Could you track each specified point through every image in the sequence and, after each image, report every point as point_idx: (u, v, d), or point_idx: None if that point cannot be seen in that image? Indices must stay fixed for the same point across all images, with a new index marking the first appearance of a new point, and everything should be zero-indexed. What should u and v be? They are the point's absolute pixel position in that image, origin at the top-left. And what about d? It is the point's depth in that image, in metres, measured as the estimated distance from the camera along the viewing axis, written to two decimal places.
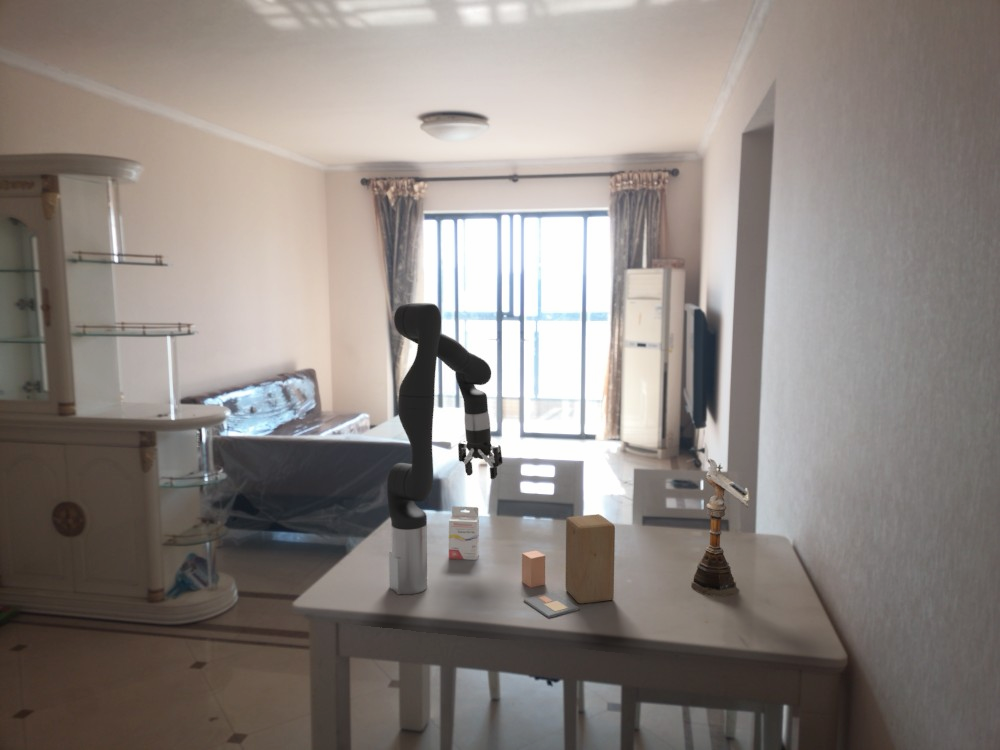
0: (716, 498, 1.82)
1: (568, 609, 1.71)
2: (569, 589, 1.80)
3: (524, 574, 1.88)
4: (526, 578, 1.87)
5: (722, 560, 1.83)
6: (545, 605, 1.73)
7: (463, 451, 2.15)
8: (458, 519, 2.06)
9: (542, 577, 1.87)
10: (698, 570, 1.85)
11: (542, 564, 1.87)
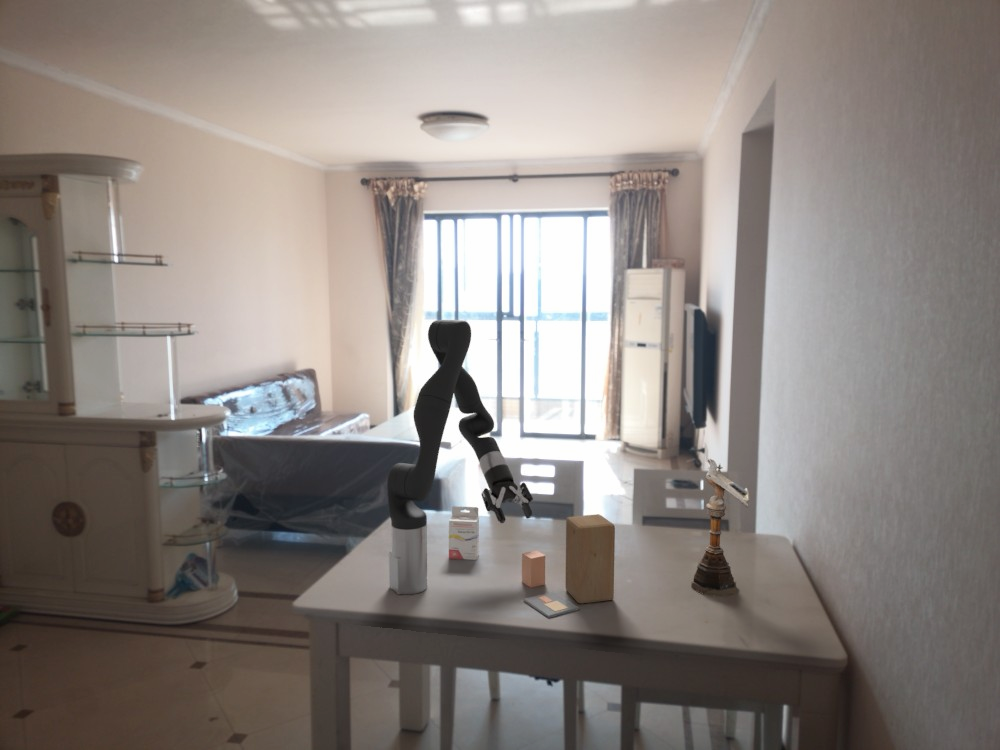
0: (716, 498, 1.82)
1: (568, 609, 1.71)
2: (569, 589, 1.80)
3: (524, 574, 1.88)
4: (526, 578, 1.87)
5: (722, 560, 1.83)
6: (545, 605, 1.73)
7: None
8: (458, 519, 2.06)
9: (542, 577, 1.87)
10: (698, 570, 1.85)
11: (542, 564, 1.87)
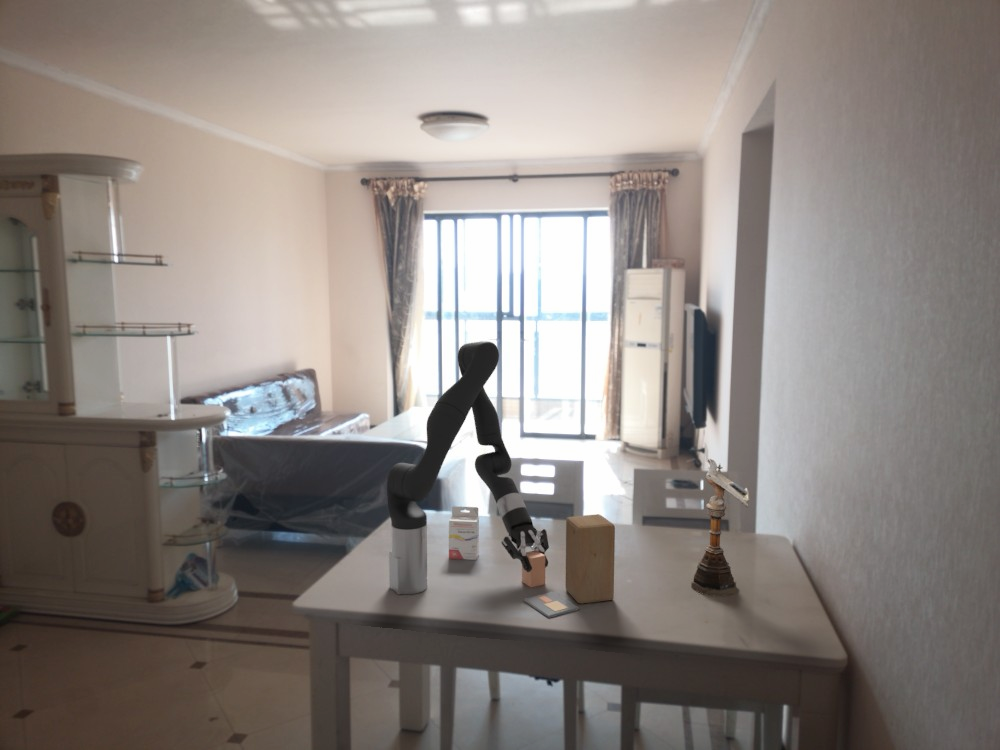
0: (716, 498, 1.82)
1: (568, 609, 1.71)
2: (569, 589, 1.80)
3: (524, 574, 1.88)
4: (526, 578, 1.87)
5: (722, 560, 1.83)
6: (545, 605, 1.73)
7: None
8: (458, 519, 2.06)
9: (542, 577, 1.87)
10: (698, 570, 1.85)
11: (542, 563, 1.87)
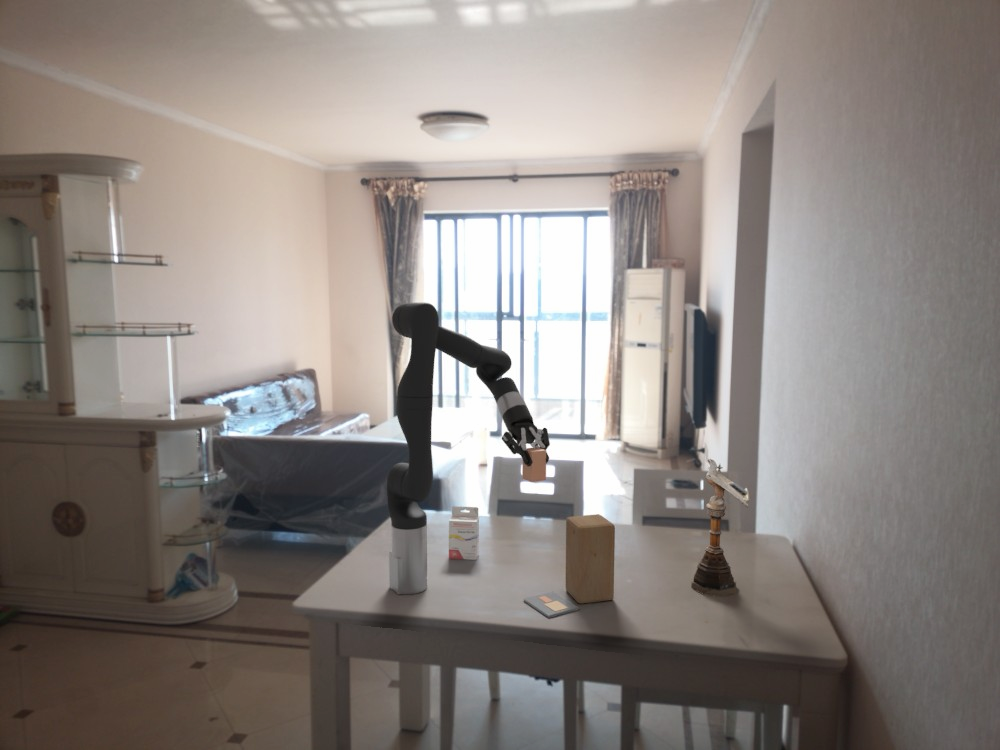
0: (716, 498, 1.82)
1: (568, 609, 1.71)
2: (569, 589, 1.80)
3: (525, 470, 1.85)
4: (526, 474, 1.84)
5: (722, 560, 1.83)
6: (545, 605, 1.73)
7: None
8: (458, 519, 2.06)
9: (542, 472, 1.84)
10: (698, 570, 1.85)
11: (543, 458, 1.84)
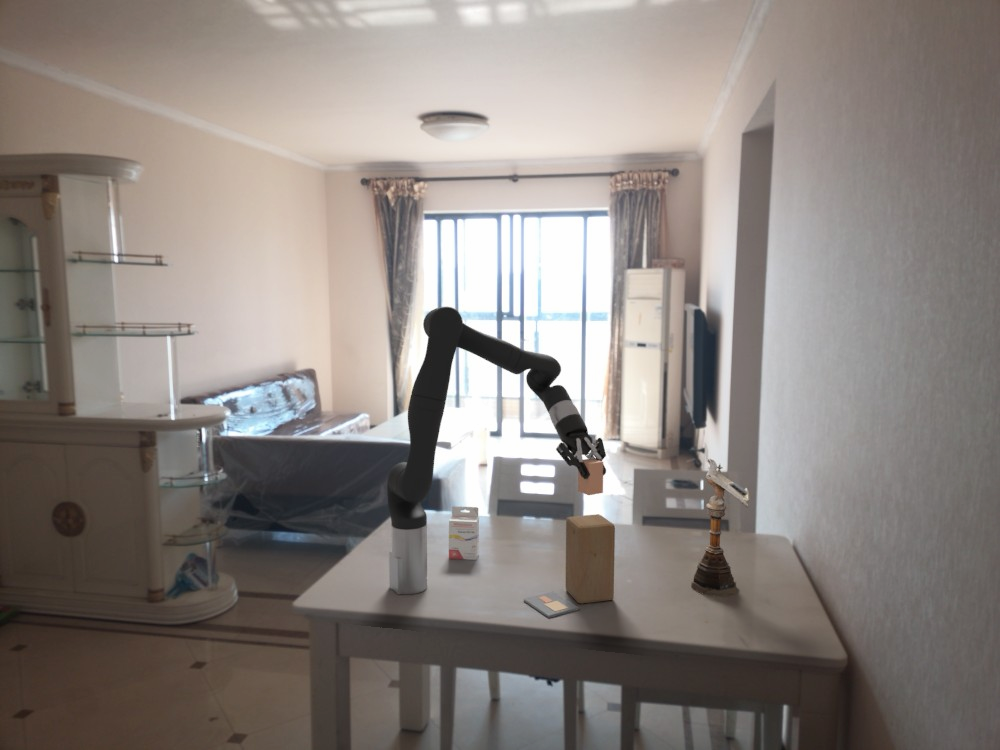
0: (716, 498, 1.82)
1: (568, 609, 1.71)
2: (569, 589, 1.80)
3: (580, 482, 1.77)
4: (583, 486, 1.76)
5: (722, 560, 1.83)
6: (545, 605, 1.73)
7: None
8: (458, 519, 2.06)
9: (599, 484, 1.76)
10: (698, 570, 1.85)
11: (600, 470, 1.76)
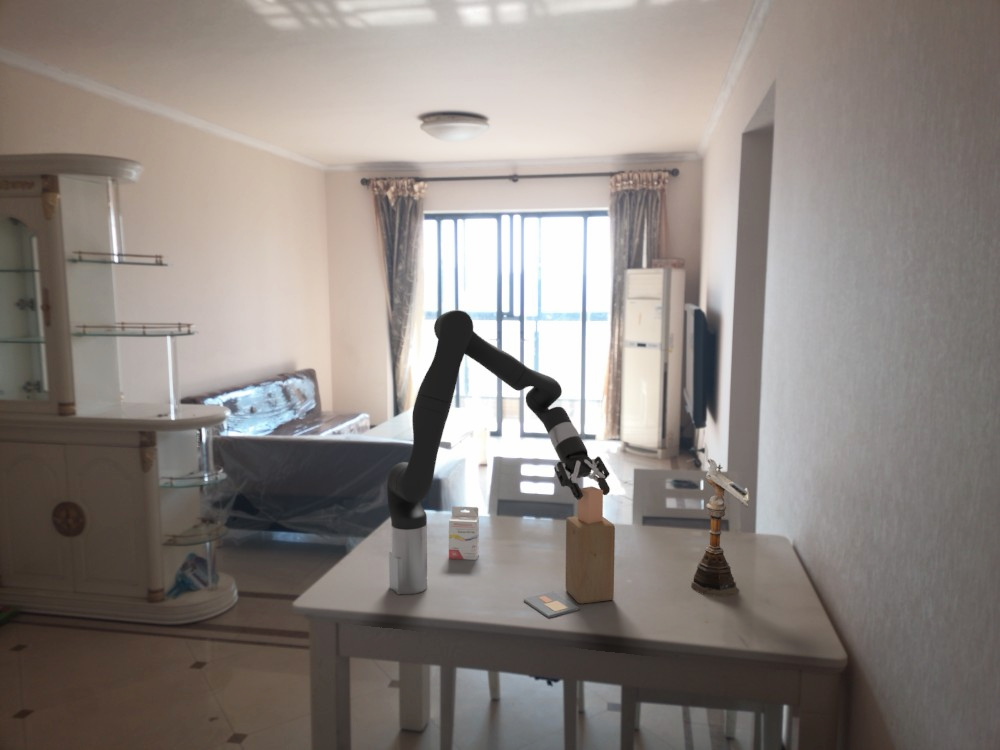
0: (716, 498, 1.82)
1: (568, 609, 1.71)
2: (569, 589, 1.80)
3: (580, 510, 1.78)
4: (582, 515, 1.77)
5: (722, 560, 1.83)
6: (545, 605, 1.73)
7: None
8: (458, 519, 2.06)
9: (599, 513, 1.77)
10: (698, 570, 1.85)
11: (600, 499, 1.77)
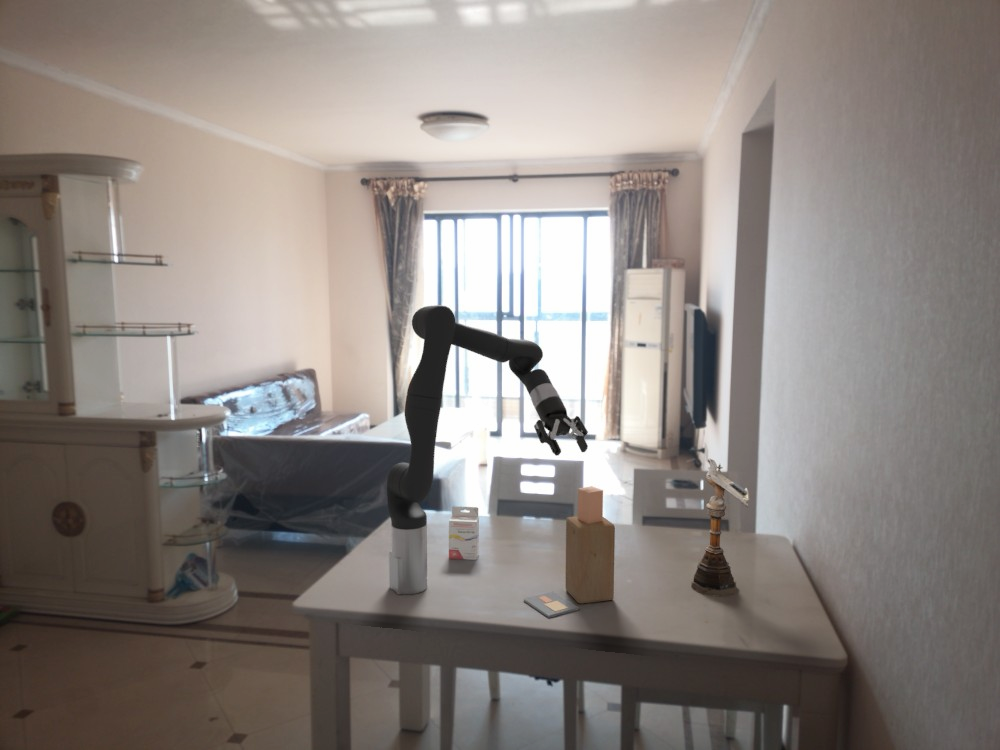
0: (716, 498, 1.82)
1: (568, 609, 1.71)
2: (569, 589, 1.80)
3: (580, 510, 1.78)
4: (582, 515, 1.77)
5: (722, 560, 1.83)
6: (545, 605, 1.73)
7: None
8: (458, 519, 2.06)
9: (599, 513, 1.77)
10: (698, 570, 1.85)
11: (600, 499, 1.77)
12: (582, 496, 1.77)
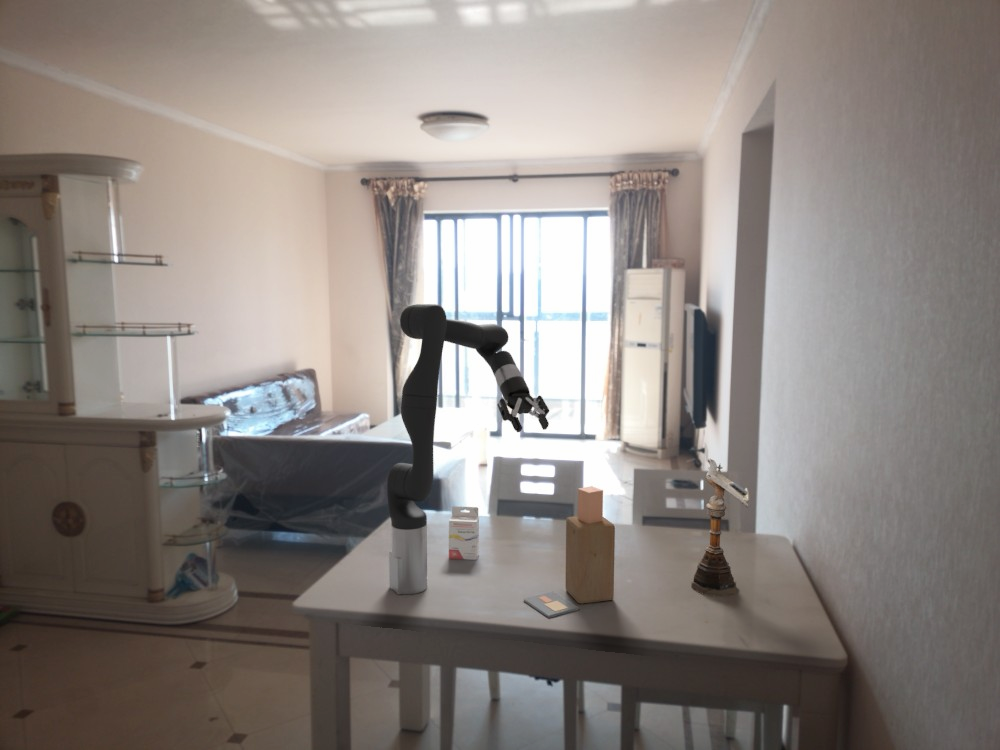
0: (716, 498, 1.82)
1: (568, 609, 1.71)
2: (569, 589, 1.80)
3: (580, 510, 1.78)
4: (582, 515, 1.77)
5: (722, 560, 1.83)
6: (545, 605, 1.73)
7: None
8: (458, 519, 2.06)
9: (599, 513, 1.77)
10: (698, 570, 1.85)
11: (600, 499, 1.77)
12: (582, 496, 1.77)
